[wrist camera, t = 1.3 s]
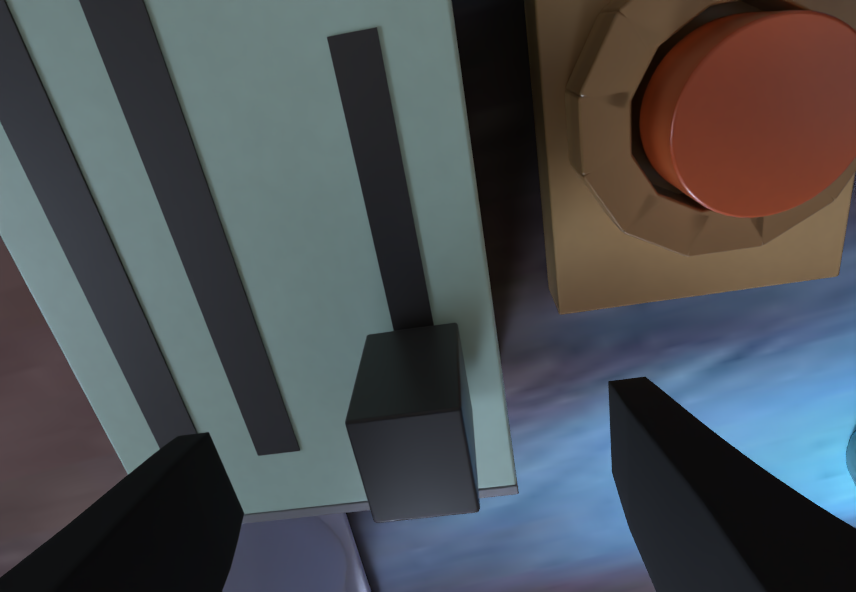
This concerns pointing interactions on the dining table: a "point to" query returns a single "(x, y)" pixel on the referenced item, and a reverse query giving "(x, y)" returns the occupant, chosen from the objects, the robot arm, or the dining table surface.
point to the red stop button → (754, 111)
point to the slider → (414, 425)
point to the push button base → (649, 166)
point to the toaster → (246, 222)
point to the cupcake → (852, 457)
